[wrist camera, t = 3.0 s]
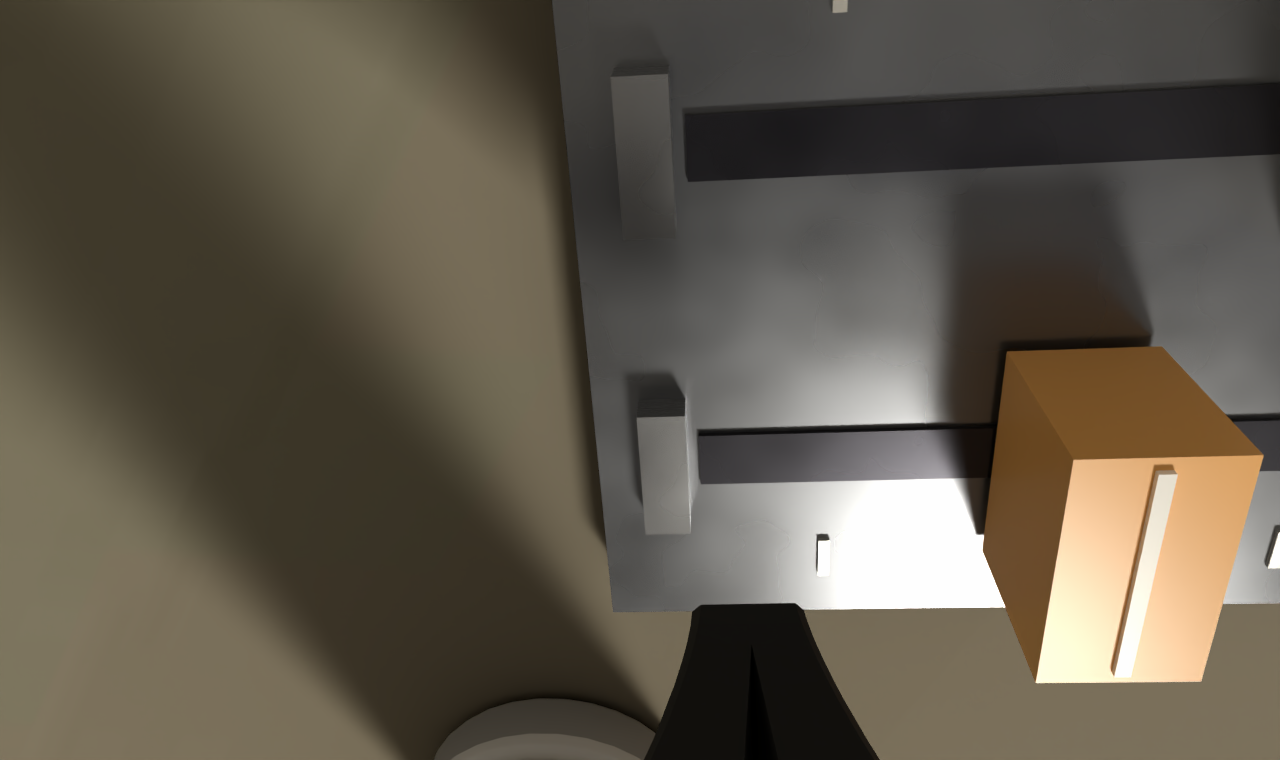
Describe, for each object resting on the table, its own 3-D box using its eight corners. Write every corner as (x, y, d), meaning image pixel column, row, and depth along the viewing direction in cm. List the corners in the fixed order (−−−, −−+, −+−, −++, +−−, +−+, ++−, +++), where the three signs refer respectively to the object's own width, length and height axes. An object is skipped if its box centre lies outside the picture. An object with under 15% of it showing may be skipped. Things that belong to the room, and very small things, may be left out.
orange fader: (1161, 346, 16) (1267, 459, 13) (1120, 548, 17) (1203, 686, 15) (1006, 351, 16) (1076, 463, 13) (982, 550, 18) (1037, 687, 15)
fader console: (2098, -261, 13) (2312, -279, 11) (1665, 551, 19) (1760, 620, 17) (550, -147, 14) (530, -147, 12) (618, 568, 20) (610, 633, 19)
